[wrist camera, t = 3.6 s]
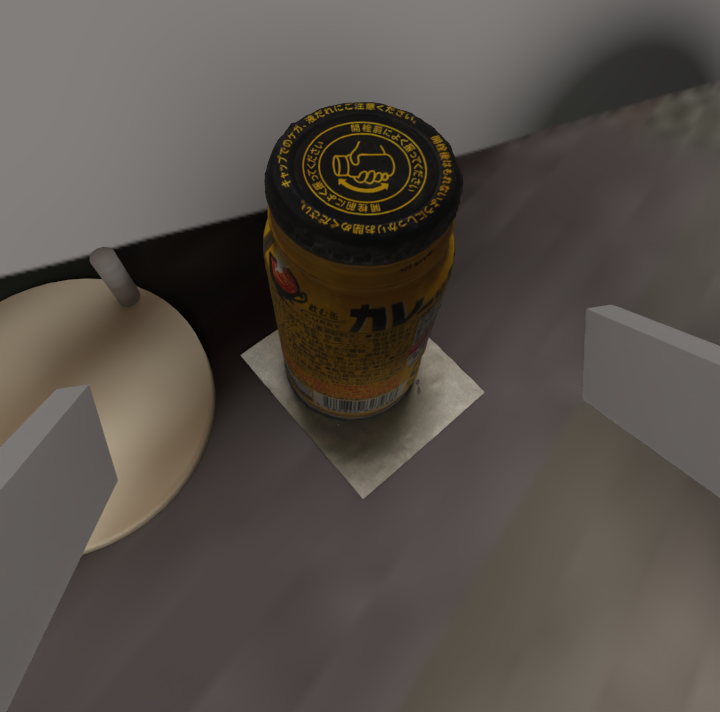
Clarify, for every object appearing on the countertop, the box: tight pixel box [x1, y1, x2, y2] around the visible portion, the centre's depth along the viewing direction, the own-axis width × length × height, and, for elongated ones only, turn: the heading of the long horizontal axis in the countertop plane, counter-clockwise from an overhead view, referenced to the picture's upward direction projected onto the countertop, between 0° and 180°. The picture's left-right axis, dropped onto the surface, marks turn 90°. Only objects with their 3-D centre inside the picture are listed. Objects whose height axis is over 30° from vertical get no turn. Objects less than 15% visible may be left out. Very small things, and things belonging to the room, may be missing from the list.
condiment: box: [240, 102, 484, 499], centre depth 19 cm, size 7×8×12 cm
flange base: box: [0, 247, 216, 555], centre depth 21 cm, size 12×12×4 cm
